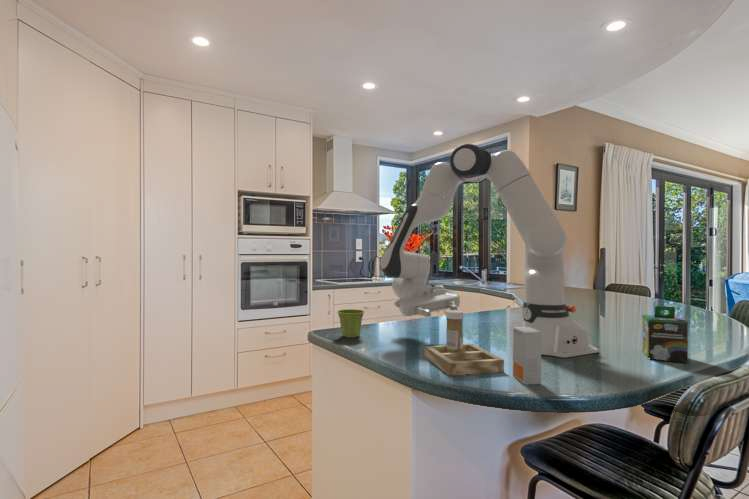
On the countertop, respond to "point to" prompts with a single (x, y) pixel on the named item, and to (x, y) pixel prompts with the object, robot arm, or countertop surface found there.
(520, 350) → the skincare box
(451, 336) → the sprinkles bottle
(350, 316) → the plant pot
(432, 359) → the wooden compartment tray
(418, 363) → the countertop surface
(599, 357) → the countertop surface
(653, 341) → the chalk box
